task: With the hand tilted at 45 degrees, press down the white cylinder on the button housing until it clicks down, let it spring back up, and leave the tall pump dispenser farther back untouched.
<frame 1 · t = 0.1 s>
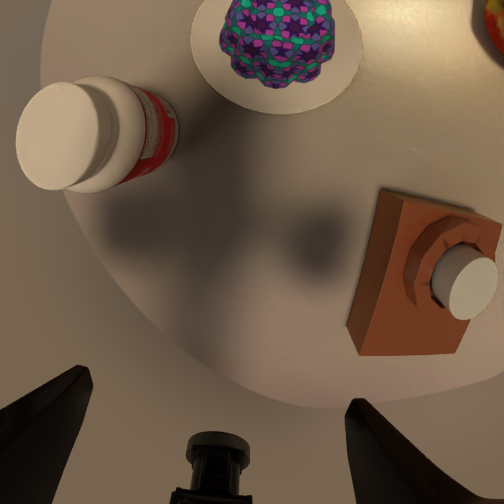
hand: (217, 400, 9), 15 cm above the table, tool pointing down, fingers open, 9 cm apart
pudding: (277, 38, 18), on the table
button housing: (414, 268, 24), on the table
white cylinder: (465, 281, 17), point 7 cm above the table, slide at 0.1 cm
pill bottle: (141, 133, 21), on the table
apple: (500, 38, 16), on the table
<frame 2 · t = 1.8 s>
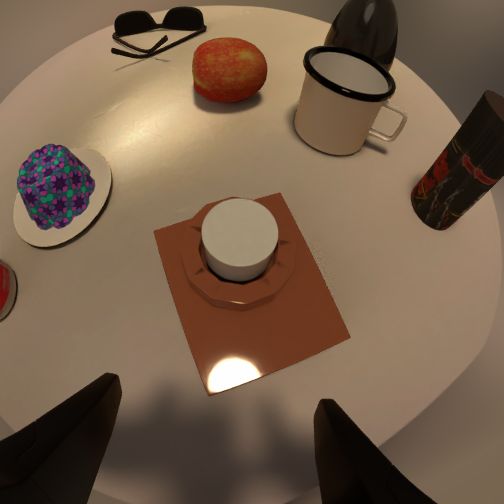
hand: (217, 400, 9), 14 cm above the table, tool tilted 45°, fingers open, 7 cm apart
mug: (339, 135, 33), on the table
pudding: (61, 197, 27), on the table
sunglasses: (150, 48, 40), on the table
button housing: (244, 300, 24), on the table
white cylinder: (239, 240, 19), point 7 cm above the table, slide at 0.1 cm
apple: (227, 96, 35), on the table
deodorant: (431, 207, 30), on the table
pump dispenser: (350, 73, 40), on the table
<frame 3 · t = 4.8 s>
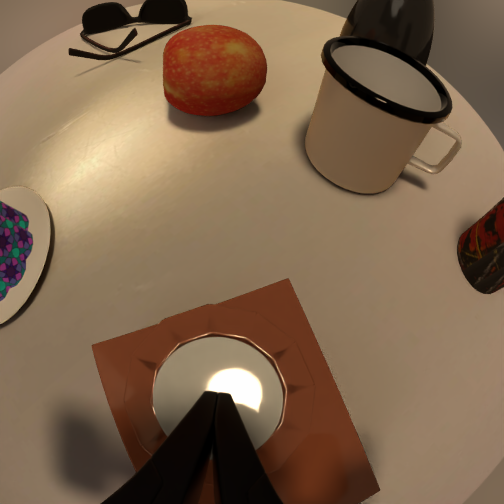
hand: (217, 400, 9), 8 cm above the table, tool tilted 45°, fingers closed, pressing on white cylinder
mug: (365, 162, 24), on the table
sunglasses: (121, 46, 31), on the table
button housing: (234, 425, 15), on the table
white cylinder: (218, 398, 11), point 6 cm above the table, slide at -0.6 cm, touching gripper
apple: (213, 106, 26), on the table
deodorant: (479, 261, 21), on the table
pump dispenser: (371, 76, 31), on the table
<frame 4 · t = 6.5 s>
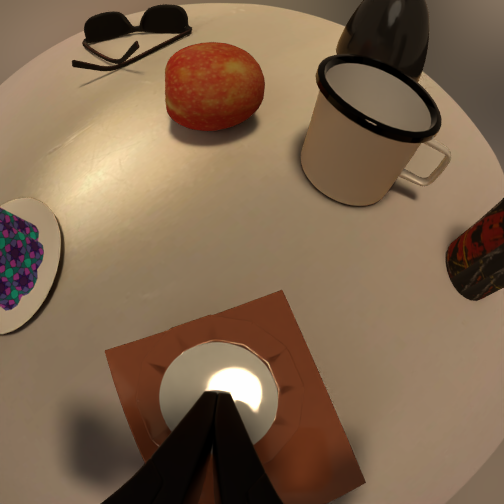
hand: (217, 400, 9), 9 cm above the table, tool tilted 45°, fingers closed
mug: (358, 174, 26), on the table
pudding: (9, 265, 20), on the table
sunglasses: (123, 56, 32), on the table
button housing: (233, 422, 17), on the table
white cylinder: (219, 398, 12), point 7 cm above the table, slide at 0.1 cm
apple: (213, 120, 27), on the table
deodorant: (468, 269, 23), on the table
pump dispenser: (367, 86, 32), on the table
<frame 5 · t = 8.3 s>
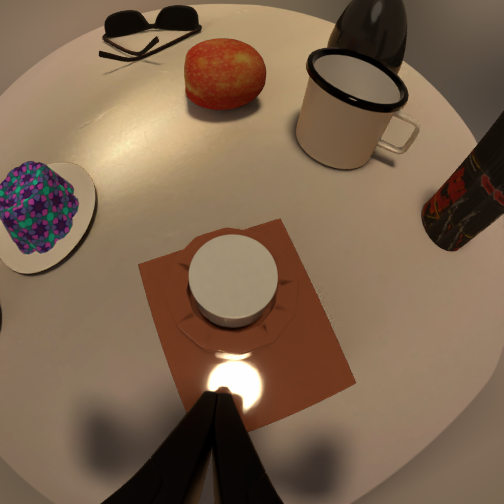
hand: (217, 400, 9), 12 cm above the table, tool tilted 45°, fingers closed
mug: (344, 146, 31), on the table
pudding: (44, 217, 25), on the table
sunglasses: (141, 50, 37), on the table
button housing: (241, 336, 22), on the table
white cylinder: (232, 282, 16), point 7 cm above the table, slide at 0.1 cm
apple: (223, 102, 32), on the table
deodorant: (443, 225, 28), on the table
pump dispenser: (355, 77, 37), on the table
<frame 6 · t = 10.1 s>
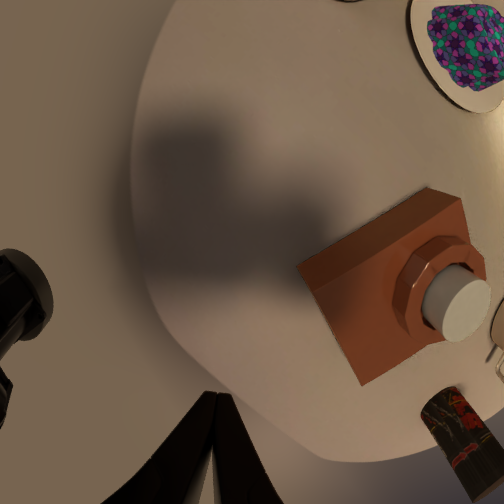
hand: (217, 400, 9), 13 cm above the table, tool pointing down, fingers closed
pudding: (459, 47, 17), on the table
button housing: (387, 277, 23), on the table
white cylinder: (457, 303, 17), point 7 cm above the table, slide at 0.1 cm
deodorant: (439, 403, 31), on the table
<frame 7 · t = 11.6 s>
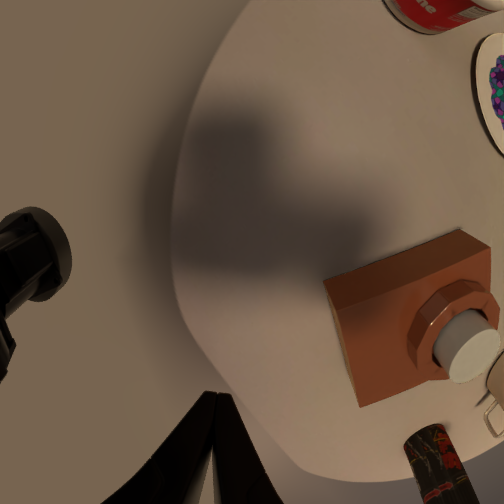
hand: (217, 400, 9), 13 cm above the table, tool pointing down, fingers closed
mug: (503, 371, 27), on the table
button housing: (405, 307, 23), on the table
white cylinder: (467, 346, 16), point 7 cm above the table, slide at 0.1 cm
pill bottle: (414, 1, 15), on the table
deodorant: (423, 437, 30), on the table
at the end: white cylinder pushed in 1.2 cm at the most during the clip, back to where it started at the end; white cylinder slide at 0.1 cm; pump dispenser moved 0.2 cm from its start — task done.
